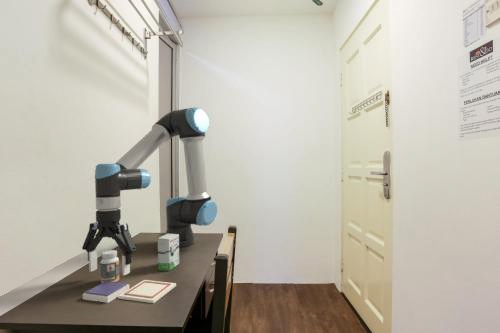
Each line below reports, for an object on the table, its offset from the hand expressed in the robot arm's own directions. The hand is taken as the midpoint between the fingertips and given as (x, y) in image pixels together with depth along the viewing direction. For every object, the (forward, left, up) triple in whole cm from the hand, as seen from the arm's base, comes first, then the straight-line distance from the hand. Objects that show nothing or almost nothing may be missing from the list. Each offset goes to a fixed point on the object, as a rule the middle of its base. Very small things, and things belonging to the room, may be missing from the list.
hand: (109, 272), depth 98 cm
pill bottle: (0, 0, -3) cm, 3 cm away
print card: (+4, +18, -3) cm, 19 cm away
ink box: (-17, +12, -3) cm, 21 cm away
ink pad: (+8, +7, -3) cm, 11 cm away
